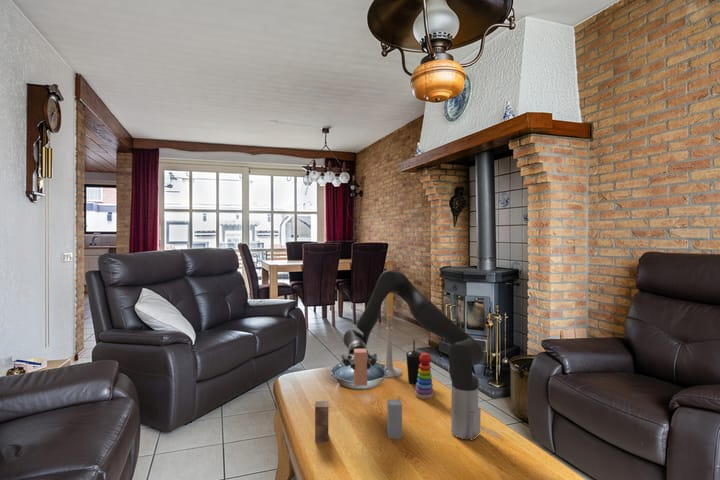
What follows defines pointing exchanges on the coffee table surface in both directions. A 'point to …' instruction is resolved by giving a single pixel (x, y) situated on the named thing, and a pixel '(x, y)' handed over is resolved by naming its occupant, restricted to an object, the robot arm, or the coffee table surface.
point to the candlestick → (390, 352)
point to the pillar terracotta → (360, 367)
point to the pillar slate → (394, 419)
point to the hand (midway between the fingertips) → (361, 366)
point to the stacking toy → (424, 378)
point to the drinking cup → (413, 364)
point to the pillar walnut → (321, 421)
